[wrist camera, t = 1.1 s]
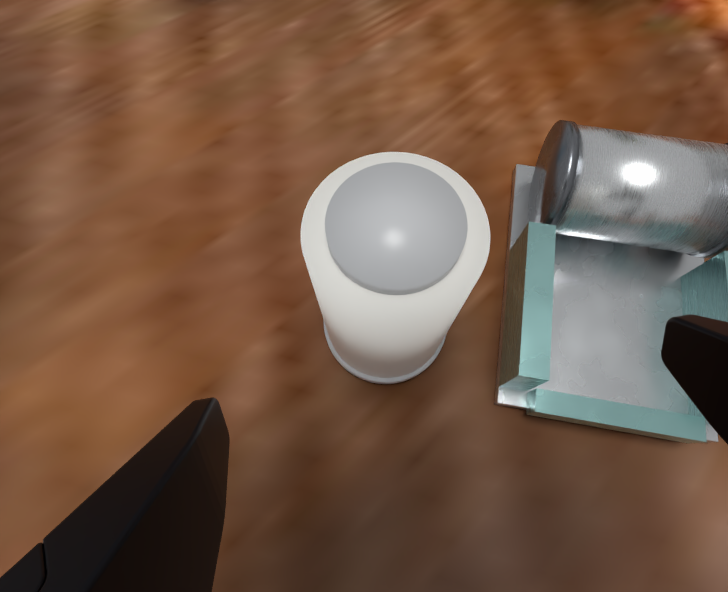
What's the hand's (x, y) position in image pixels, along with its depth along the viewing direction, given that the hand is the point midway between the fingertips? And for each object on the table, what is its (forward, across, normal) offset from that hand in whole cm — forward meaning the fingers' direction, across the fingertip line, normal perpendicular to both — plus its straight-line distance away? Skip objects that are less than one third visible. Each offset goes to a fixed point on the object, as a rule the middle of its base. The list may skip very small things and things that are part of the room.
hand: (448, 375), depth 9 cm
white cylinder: (+12, 0, +6) cm, 14 cm away
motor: (+12, -11, +6) cm, 18 cm away
